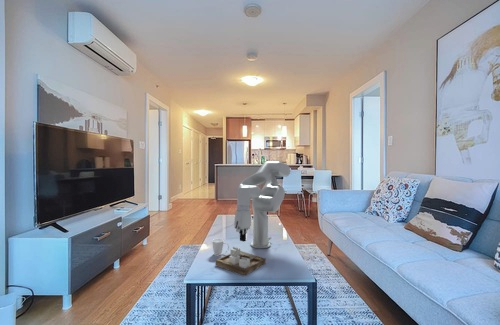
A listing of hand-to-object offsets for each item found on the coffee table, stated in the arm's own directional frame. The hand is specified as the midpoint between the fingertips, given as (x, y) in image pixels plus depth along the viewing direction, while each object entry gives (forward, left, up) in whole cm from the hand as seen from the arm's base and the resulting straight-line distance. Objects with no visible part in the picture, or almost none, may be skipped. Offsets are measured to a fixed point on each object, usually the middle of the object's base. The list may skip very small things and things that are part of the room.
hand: (242, 240), depth 140 cm
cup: (+6, -12, -9) cm, 16 cm away
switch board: (+9, +6, -9) cm, 14 cm away
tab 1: (+6, 0, -7) cm, 9 cm away
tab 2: (+14, +13, -7) cm, 20 cm away
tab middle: (+14, +6, -7) cm, 17 cm away
